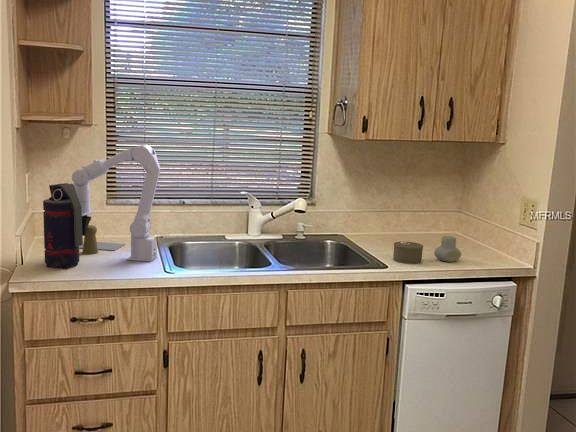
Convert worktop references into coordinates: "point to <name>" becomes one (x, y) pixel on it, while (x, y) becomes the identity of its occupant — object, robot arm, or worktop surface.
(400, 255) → the can
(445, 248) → the air freshener
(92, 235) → the cork
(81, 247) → the mat
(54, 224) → the grenade
